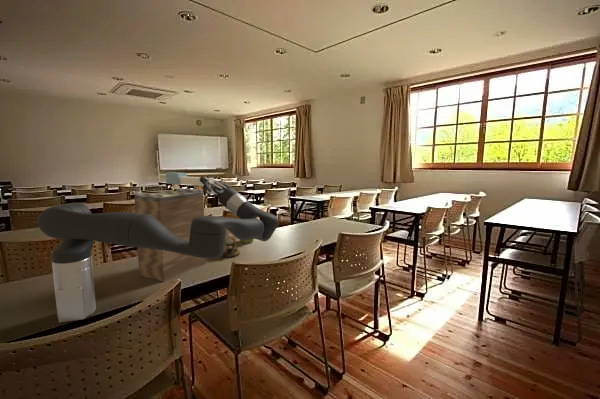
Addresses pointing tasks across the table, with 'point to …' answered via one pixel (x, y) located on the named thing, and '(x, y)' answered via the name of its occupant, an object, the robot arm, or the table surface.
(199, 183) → the blue and beige bar
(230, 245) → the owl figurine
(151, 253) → the tall wood grain pillar
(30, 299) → the table surface
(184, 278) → the table surface
